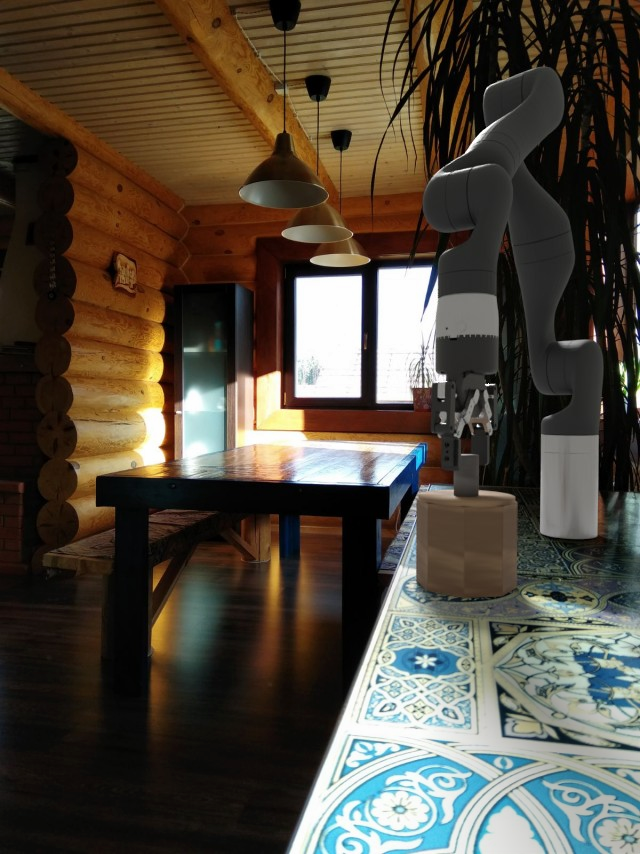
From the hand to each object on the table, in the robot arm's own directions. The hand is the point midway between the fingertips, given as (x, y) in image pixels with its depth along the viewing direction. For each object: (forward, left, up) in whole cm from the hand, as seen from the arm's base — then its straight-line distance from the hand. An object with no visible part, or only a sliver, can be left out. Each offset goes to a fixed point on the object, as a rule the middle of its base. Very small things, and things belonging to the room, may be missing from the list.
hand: (466, 467), depth 80 cm
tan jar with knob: (0, 0, -14) cm, 14 cm away
